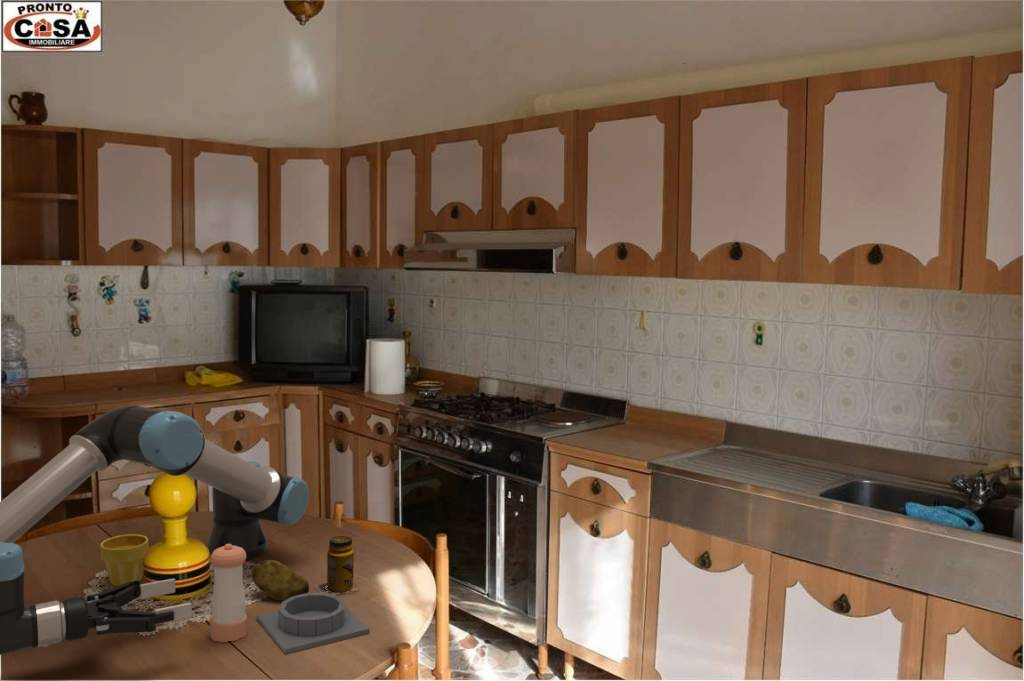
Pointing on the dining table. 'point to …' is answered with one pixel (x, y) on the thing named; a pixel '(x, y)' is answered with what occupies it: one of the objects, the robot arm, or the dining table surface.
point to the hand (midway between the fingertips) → (182, 597)
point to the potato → (278, 580)
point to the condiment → (339, 566)
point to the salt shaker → (228, 594)
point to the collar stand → (311, 622)
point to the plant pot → (124, 557)
